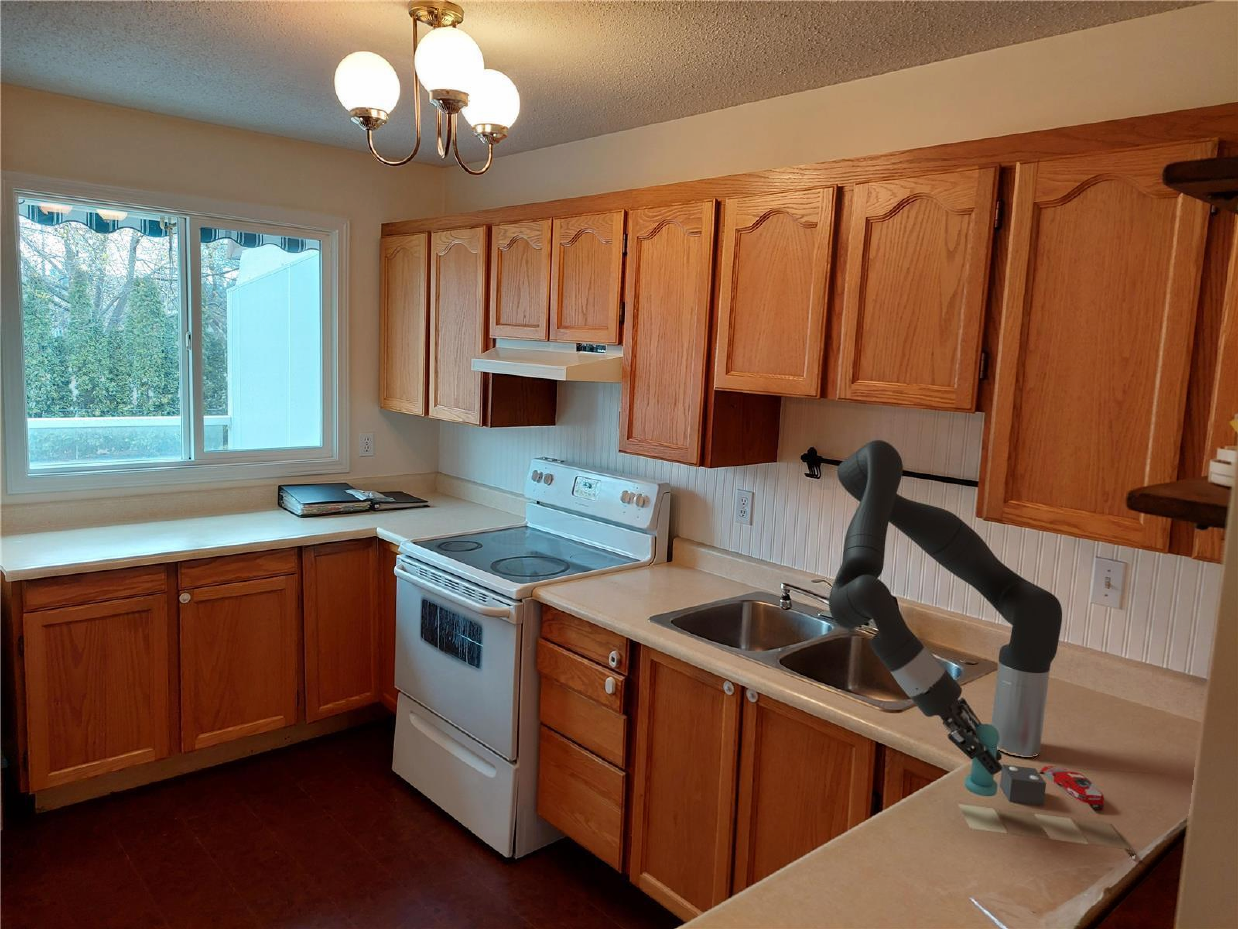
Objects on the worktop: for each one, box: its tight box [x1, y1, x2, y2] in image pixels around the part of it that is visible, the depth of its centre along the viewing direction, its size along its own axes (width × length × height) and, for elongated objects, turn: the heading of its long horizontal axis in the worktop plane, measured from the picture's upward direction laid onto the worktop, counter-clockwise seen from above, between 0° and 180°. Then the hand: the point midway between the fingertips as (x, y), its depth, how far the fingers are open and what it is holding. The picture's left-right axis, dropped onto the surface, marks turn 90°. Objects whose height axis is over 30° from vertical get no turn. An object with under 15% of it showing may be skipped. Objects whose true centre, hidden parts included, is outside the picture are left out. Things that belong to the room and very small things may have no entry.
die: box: [999, 763, 1047, 807], centre depth 146 cm, size 6×6×6 cm
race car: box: [1038, 765, 1105, 810], centre depth 152 cm, size 13×5×4 cm, turn 6°
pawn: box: [964, 723, 999, 797], centre depth 138 cm, size 5×5×11 cm
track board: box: [958, 803, 1137, 858], centre depth 137 cm, size 9×25×2 cm, turn 81°
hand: (997, 765), depth 138 cm, fingers closed on pawn, 3 cm apart
